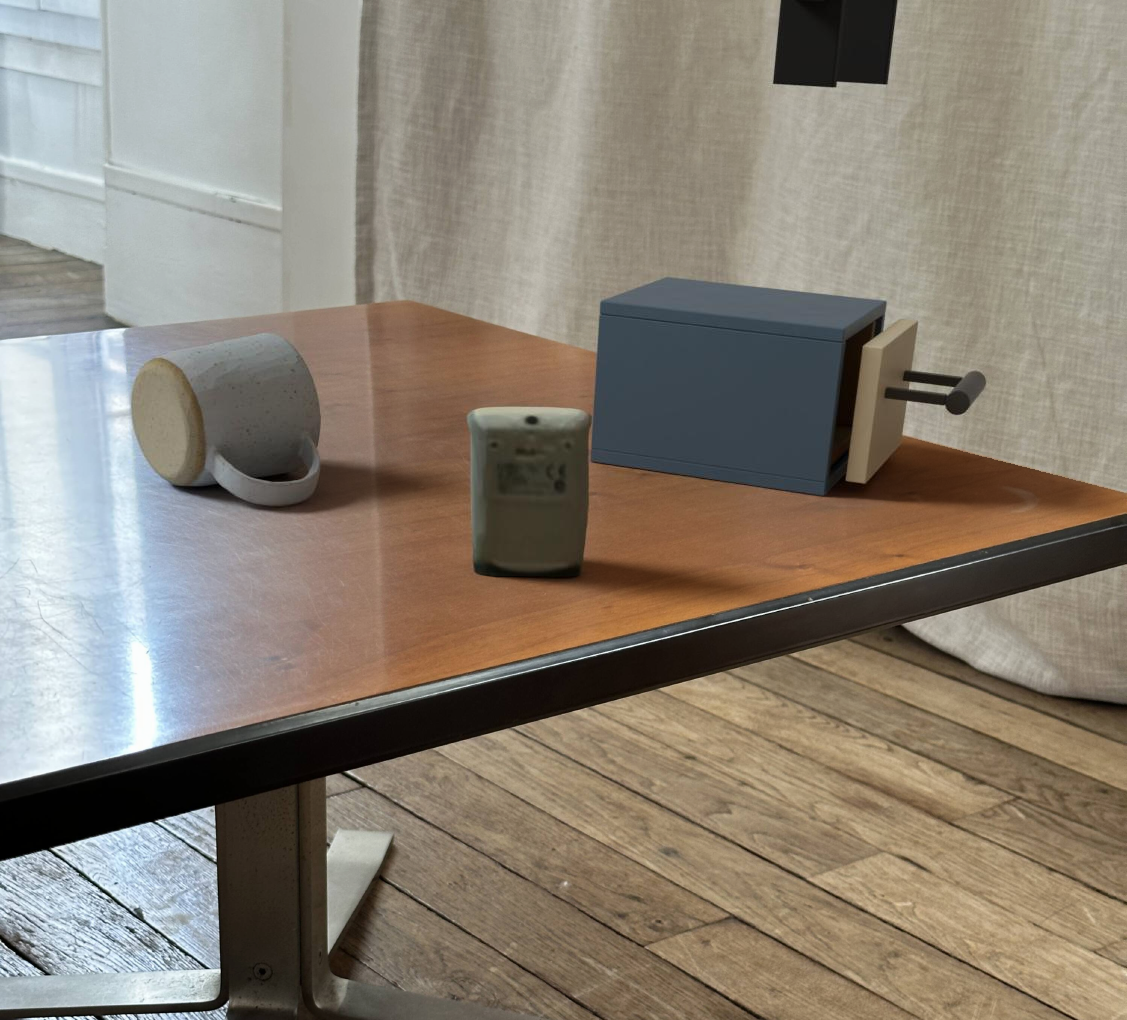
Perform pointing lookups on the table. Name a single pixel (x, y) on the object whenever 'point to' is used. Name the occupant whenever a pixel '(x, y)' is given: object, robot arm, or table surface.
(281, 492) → the ceramic mug
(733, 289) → the cabinet
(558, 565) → the grey electronic device
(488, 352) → the table surface
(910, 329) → the drawer
